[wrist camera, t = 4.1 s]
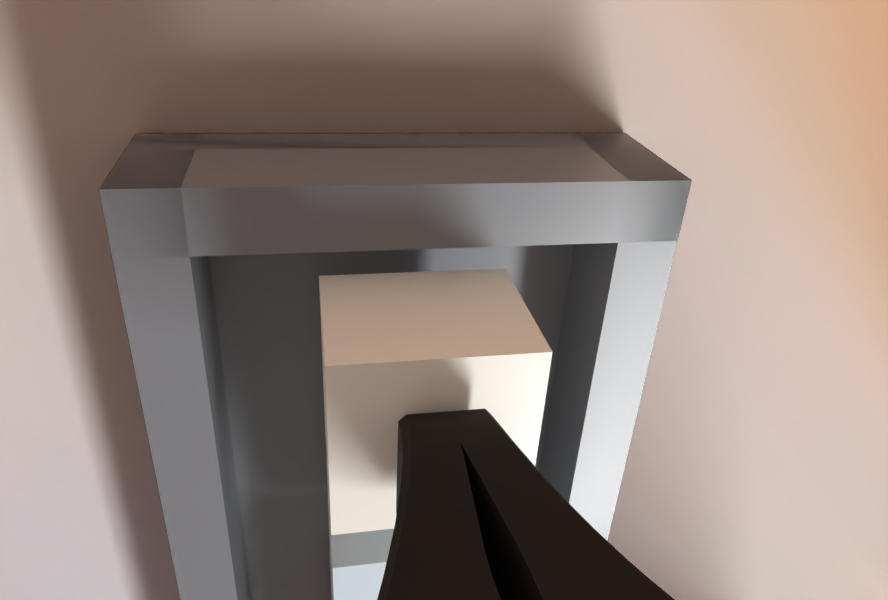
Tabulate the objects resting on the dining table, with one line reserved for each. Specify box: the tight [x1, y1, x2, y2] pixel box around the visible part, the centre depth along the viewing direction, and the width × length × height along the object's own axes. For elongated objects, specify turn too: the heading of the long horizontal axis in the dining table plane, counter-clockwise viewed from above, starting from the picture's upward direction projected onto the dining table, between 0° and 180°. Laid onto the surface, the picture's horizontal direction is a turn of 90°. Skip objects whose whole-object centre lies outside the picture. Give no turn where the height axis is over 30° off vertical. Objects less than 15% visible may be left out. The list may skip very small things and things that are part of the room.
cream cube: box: [319, 269, 553, 535], centre depth 12 cm, size 3×3×3 cm
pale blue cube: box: [326, 457, 394, 600], centre depth 14 cm, size 3×3×3 cm
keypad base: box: [99, 133, 692, 600], centre depth 18 cm, size 10×19×3 cm, turn 177°
